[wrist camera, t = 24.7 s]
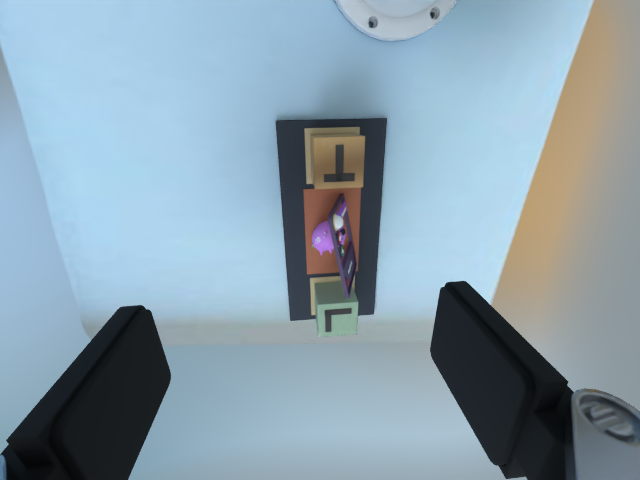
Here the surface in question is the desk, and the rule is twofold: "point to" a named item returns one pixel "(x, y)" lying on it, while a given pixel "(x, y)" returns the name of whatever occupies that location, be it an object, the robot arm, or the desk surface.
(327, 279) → the word mat
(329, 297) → the sage letter block
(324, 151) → the honey letter block
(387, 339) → the desk surface
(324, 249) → the purple boxed toy figure
